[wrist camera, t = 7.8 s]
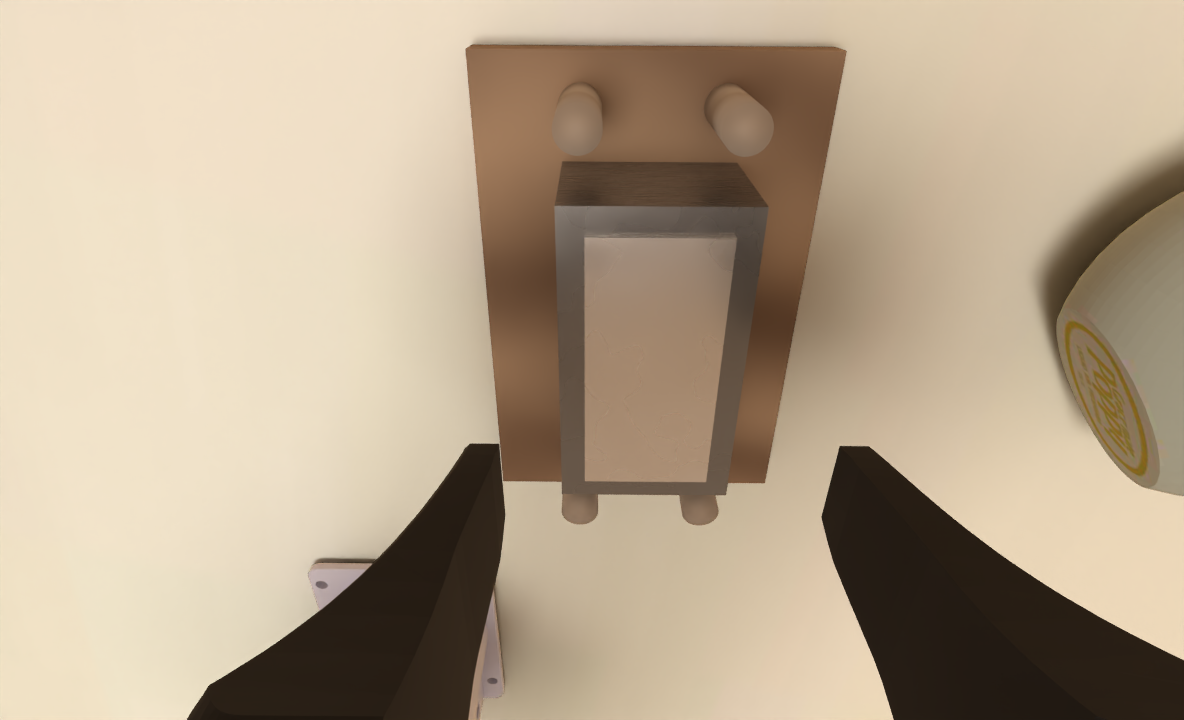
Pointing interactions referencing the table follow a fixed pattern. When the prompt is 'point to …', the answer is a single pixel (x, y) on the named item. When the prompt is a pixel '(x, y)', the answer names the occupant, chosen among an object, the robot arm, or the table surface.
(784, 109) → the pegged wooden board
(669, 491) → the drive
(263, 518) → the table surface
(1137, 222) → the air freshener
